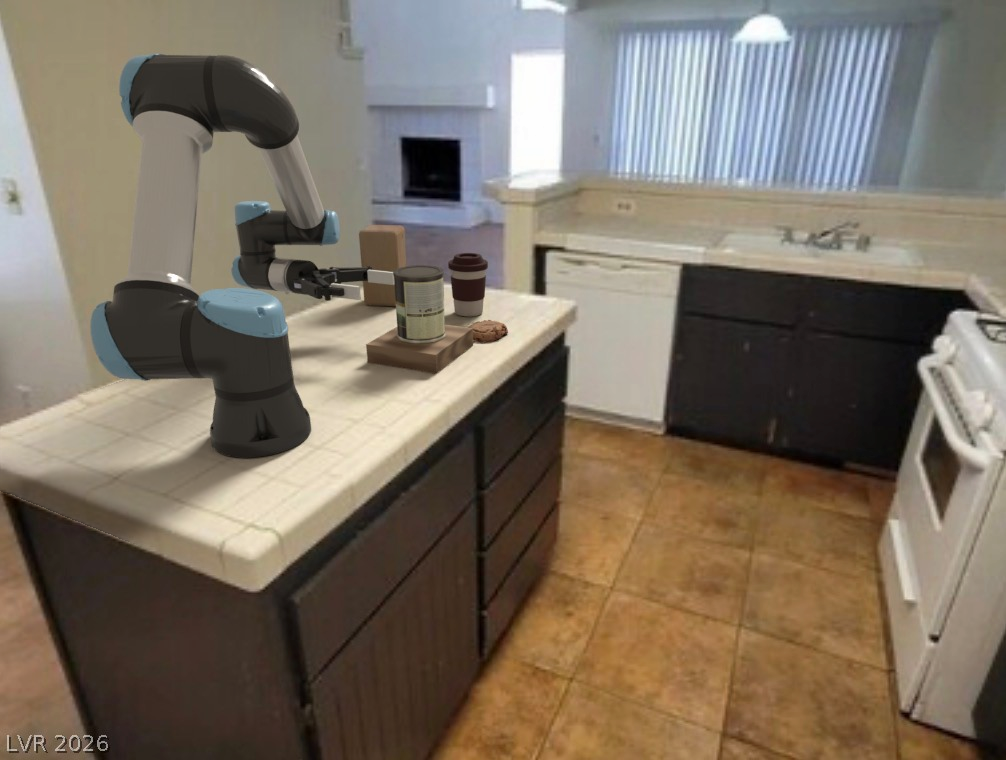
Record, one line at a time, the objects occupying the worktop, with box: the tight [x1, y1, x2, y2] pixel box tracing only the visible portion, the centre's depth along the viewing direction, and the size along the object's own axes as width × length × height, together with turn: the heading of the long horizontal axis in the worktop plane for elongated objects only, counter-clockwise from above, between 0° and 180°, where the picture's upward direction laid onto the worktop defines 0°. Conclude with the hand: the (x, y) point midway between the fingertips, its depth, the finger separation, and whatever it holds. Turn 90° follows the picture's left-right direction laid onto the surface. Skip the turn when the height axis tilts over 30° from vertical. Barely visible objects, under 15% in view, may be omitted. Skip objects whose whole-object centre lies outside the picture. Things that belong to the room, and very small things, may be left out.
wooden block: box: [358, 224, 407, 307], centre depth 171 cm, size 10×10×20 cm
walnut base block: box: [365, 324, 474, 374], centre depth 138 cm, size 18×16×4 cm
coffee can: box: [393, 264, 446, 344], centre depth 134 cm, size 10×10×14 cm
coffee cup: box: [447, 252, 489, 318], centre depth 163 cm, size 10×10×15 cm
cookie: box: [467, 319, 509, 343], centre depth 150 cm, size 10×11×3 cm
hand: (377, 285), depth 136 cm, fingers open, 13 cm apart
